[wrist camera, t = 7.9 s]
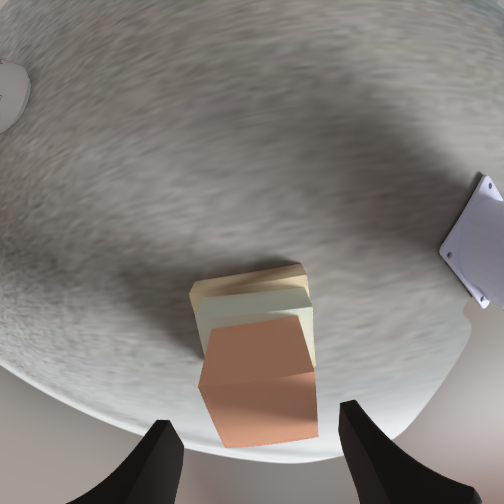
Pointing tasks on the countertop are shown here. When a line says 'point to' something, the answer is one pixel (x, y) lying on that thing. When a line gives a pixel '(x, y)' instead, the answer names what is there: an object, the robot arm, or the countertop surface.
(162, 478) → the robot arm
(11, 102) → the energy drink can
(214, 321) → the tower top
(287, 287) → the tower base
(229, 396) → the terracotta cube
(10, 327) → the countertop surface
